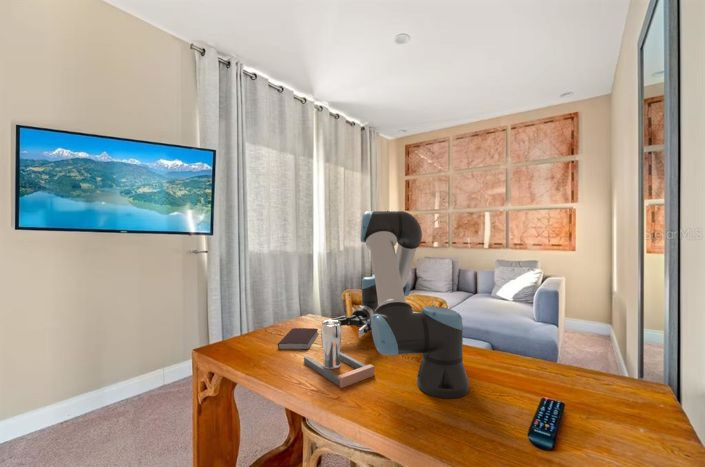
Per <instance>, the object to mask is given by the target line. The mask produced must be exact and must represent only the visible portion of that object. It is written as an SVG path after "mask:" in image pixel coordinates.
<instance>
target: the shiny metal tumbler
mask: <svg viewBox="0 0 705 467" xmlns="http://www.w3.org/2000/svg"><path fill="white" fill-rule="evenodd" d="M320 332H321V338H320V339H321V345H322V349H323V363H322V365H323V366H324V367H326V368H327V369H329V370H335V369H338V368H340V367H341V360H340V359H339V351H340V350H341V343H342V326H341V322H340V321H337V320H329V319H327V320H324V321H322V322H321V331H320ZM340 352H341V351H340Z"/></svg>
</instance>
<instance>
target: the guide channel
mask: <svg viewBox="0 0 705 467" xmlns="http://www.w3.org/2000/svg"><path fill="white" fill-rule="evenodd" d="M339 359H340V362H343V363H345V364H346V365H349V366H350V367H352V368H354V369H352V370H350V371H347V372H343V373H342V374H337V373H336V372H334V371H332V369H327V368H326V367H324V366H323V364H321V363H319V362H318V361H316V360H314V359H313V358H311V357H310V356H304V357H303V363H304V364H305V365H306V366H308V367H309V368H311V369H312V370H314V371H316V372H317V373H319V374H320V375H322V376H323V377H325V378H326V379H328V380H329V381H331V382H332V383H333V384H335V385H336V386H338V387H340V388H341V389H342V388H345V387H348V386H350V385H351V386H352V385H354V384H356V383H358V382H359V383H360V381H363V380H366V379H369V378H371V377H373V376H374V377H375V366H374V365H373V364H371V363H370V364H365V363H363V362H361V361H359V360H358V359H355V358H353V357H351V356H350V355H348V354H346V353H343V352H341V351H339Z"/></svg>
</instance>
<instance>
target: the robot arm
mask: <svg viewBox="0 0 705 467" xmlns="http://www.w3.org/2000/svg"><path fill="white" fill-rule="evenodd" d="M360 225H361V226H360V243H365V247H366V248H367V250H369V251H370V255H371V261H372V269H373V270H372V271H373V276H364V277H363V278H362V279H361V307H359V308H357V309H356V310H354V312H352V314H351V315H350V316H347V315H346V314H345V315H342V316H339V317H334V318H329V319H328V320H337V321H340V322H341V327H342V326H348V327H349V326H355V327H357V328H359V329H358V338H362V337H363V336H364V335H365V334H367V333H369V332H371V335H372V340H373V344H374V346H375V348H376V350H377V352H378V353H379V354H381V355H383V356H398V355H399V356H401V355H418V354H419V355H420V354H422V359H421V362H420V366H419V369H418V372H417V375H416V384H417V387H418V388H419V390H421V391H422V392H423V393H425V394H427V395H430V396H433V397H436V398H440V399H457V398H461V397H464V396H465V395H467V394H468V393H469V392H470V380H469V378H468V376H467V371H466V368H465V366H464V361H463V359H464V357H463V355H464V353H463V351H464V350H463V349H464V348H463V347H464V346H463V342H464V341H463V340H464V338H463V336H464V335H463V334H464V332H463V331H464V327H463V317H462V315H461V314H460V312H457V311H456V310H453V309H451V308H447V307H441V306H437V305H427V306H423V307H422V309H421V312H414V311H413V308H412V305H411V303H409V302H407V300H406V298H405V297H409V295H410V293H411V287H410V282H409V281H408V280H409V276H410V271H411V269H412V264H413V262H414V259H415V254H416V250H417V248H419V247H420V245H421V242H422V240H423V239H422V238H423V233H422V232H423V231H422V227H421V225H420V222H419V221H418V220H417V218H416V217H415V216H414V215H413V214H411V213H409V212H407V211H402V210H397V211H395V210H393V211H389V210H387V211H385V210H383V211H376V210H372V211H365V212H364V213H363V214H362V218H361V224H360ZM396 245H397V248H395V246H396Z"/></svg>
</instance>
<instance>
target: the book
mask: <svg viewBox="0 0 705 467" xmlns="http://www.w3.org/2000/svg"><path fill="white" fill-rule="evenodd" d="M318 330H319V329H318V328H314V327H313V328H311V327H306V328H305V327H295V328H294V327H293V328H291V329H290V330H289V331H288V332H287V333H286V335H285V336H284V337H283V338H282V339H281V340H279V342H278V343H277V349H278V350H280V349H281V350H300V351H303V350H305V351H308V350H310V348H311V347H312V345H313V343H314V341H315V339H316V338H317V337H318V335H319V333H318Z"/></svg>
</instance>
